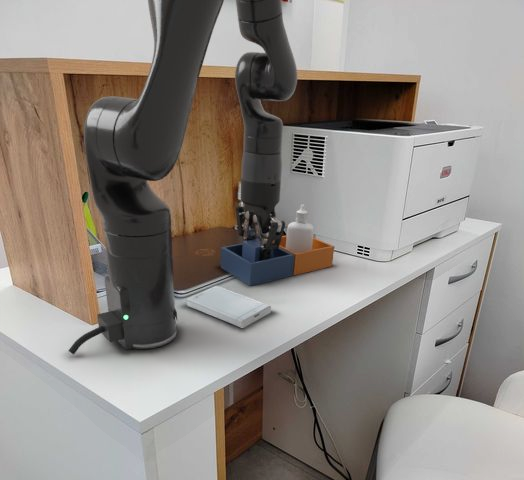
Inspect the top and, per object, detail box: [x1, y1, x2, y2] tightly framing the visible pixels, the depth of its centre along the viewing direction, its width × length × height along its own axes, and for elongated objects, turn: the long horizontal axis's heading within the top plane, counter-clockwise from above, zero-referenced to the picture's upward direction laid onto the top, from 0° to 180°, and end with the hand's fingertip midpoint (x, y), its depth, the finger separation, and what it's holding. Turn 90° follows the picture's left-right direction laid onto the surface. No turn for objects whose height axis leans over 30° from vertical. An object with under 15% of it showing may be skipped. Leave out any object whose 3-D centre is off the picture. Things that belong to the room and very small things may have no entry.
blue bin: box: [220, 242, 294, 287], centre depth 101 cm, size 11×11×4 cm
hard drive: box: [186, 285, 272, 329], centre depth 86 cm, size 2×8×12 cm
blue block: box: [242, 238, 273, 263], centre depth 101 cm, size 4×4×4 cm
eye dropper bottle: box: [286, 204, 315, 253], centre depth 105 cm, size 4×6×12 cm
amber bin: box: [265, 234, 335, 276], centre depth 107 cm, size 11×11×4 cm
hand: (257, 262), depth 102 cm, fingers closed on blue block, 4 cm apart
